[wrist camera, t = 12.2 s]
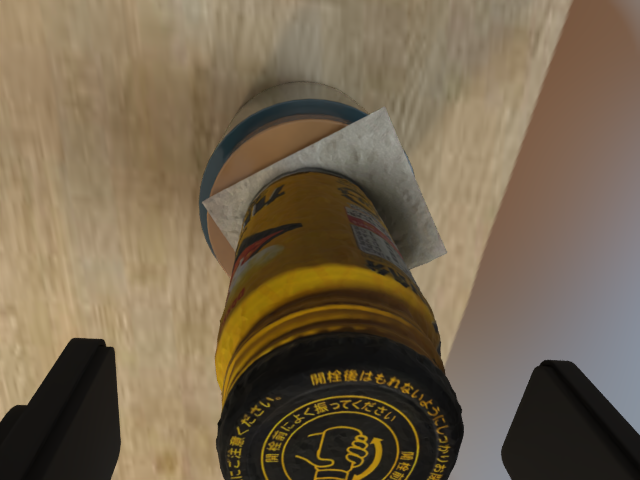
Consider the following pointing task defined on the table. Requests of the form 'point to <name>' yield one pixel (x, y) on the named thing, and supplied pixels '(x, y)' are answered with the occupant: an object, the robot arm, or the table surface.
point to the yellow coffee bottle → (332, 319)
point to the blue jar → (270, 142)
